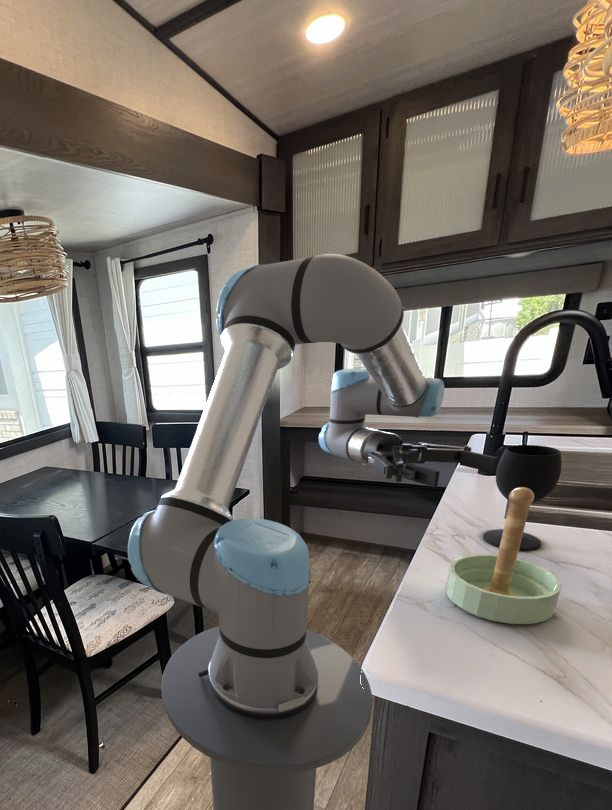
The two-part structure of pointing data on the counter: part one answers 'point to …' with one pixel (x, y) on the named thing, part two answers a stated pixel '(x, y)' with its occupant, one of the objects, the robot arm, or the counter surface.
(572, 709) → the counter surface
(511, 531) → the wooden pestle
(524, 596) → the bowl
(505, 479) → the wine glass
